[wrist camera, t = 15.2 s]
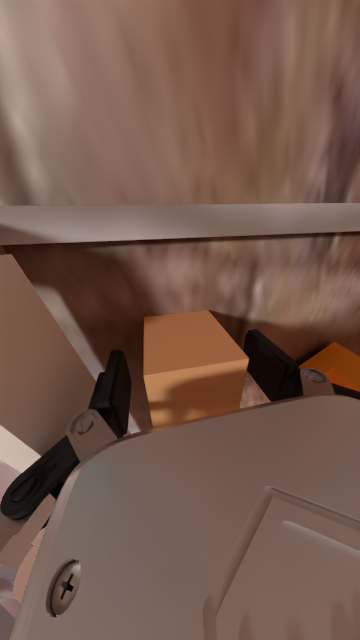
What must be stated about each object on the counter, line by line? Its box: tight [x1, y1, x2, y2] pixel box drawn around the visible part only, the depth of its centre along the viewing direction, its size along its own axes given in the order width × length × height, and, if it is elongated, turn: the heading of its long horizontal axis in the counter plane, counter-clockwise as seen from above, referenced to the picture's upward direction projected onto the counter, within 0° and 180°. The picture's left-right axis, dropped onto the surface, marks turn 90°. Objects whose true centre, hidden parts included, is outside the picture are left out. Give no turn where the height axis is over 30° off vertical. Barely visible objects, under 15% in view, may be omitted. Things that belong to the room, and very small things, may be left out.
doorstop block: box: [144, 310, 249, 428], centre depth 11 cm, size 5×5×6 cm
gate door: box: [0, 254, 131, 473], centre depth 11 cm, size 2×24×6 cm, turn 12°
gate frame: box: [0, 203, 360, 255], centre depth 7 cm, size 3×30×8 cm, turn 92°
